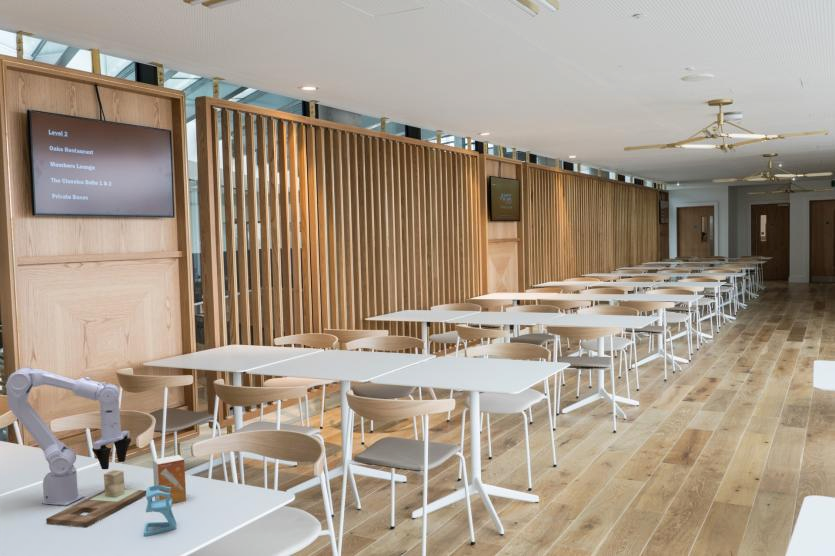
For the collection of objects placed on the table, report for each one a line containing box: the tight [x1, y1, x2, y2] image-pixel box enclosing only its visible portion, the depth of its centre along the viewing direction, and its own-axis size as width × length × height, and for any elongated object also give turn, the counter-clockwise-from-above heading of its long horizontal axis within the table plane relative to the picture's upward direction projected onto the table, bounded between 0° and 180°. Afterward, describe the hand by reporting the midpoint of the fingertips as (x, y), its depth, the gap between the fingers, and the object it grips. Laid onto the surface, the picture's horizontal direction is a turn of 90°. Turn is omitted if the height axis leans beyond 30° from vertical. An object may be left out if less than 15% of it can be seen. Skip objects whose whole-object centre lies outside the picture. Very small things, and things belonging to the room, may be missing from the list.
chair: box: [143, 485, 177, 537], centre depth 198 cm, size 8×8×12 cm
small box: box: [152, 454, 187, 504], centre depth 220 cm, size 8×6×13 cm
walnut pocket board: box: [45, 488, 146, 528], centre depth 216 cm, size 14×26×2 cm, turn 164°
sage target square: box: [90, 488, 140, 503], centre depth 223 cm, size 10×10×1 cm
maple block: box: [103, 469, 126, 498], centre depth 223 cm, size 4×4×7 cm
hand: (113, 465), depth 228 cm, fingers open, 7 cm apart
